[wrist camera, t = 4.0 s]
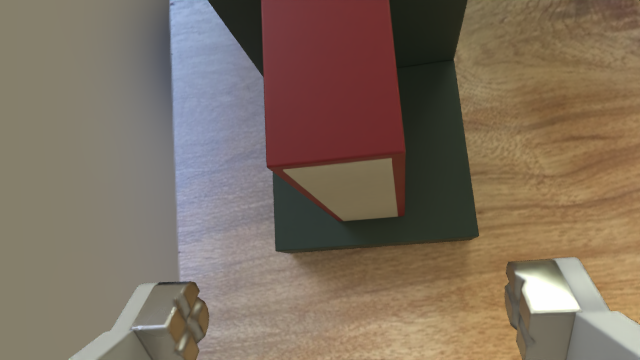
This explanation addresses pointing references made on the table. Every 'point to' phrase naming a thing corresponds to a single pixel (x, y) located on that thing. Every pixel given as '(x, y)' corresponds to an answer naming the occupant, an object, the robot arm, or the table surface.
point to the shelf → (419, 136)
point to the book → (334, 105)
